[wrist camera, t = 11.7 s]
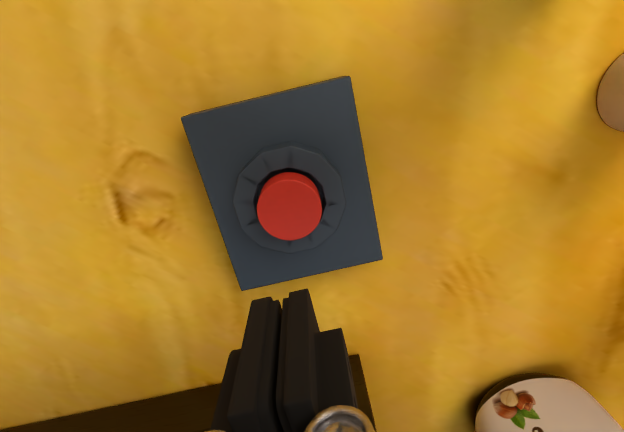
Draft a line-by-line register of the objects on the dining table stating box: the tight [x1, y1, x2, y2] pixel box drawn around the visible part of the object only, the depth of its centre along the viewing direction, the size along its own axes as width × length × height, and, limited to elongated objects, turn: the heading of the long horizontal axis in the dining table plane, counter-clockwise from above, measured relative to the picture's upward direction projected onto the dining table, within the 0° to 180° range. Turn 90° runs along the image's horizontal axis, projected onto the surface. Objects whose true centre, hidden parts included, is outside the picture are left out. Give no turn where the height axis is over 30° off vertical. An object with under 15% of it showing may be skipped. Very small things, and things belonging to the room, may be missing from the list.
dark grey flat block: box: [181, 76, 383, 291], centre depth 23 cm, size 12×10×4 cm
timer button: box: [257, 172, 322, 240], centre depth 21 cm, size 4×4×2 cm
